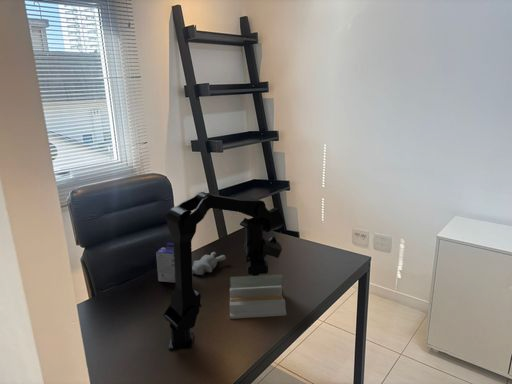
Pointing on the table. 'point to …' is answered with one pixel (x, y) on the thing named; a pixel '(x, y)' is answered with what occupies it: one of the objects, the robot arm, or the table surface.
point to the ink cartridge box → (166, 264)
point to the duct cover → (256, 281)
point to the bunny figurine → (206, 263)
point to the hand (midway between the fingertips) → (256, 278)
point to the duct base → (256, 302)
